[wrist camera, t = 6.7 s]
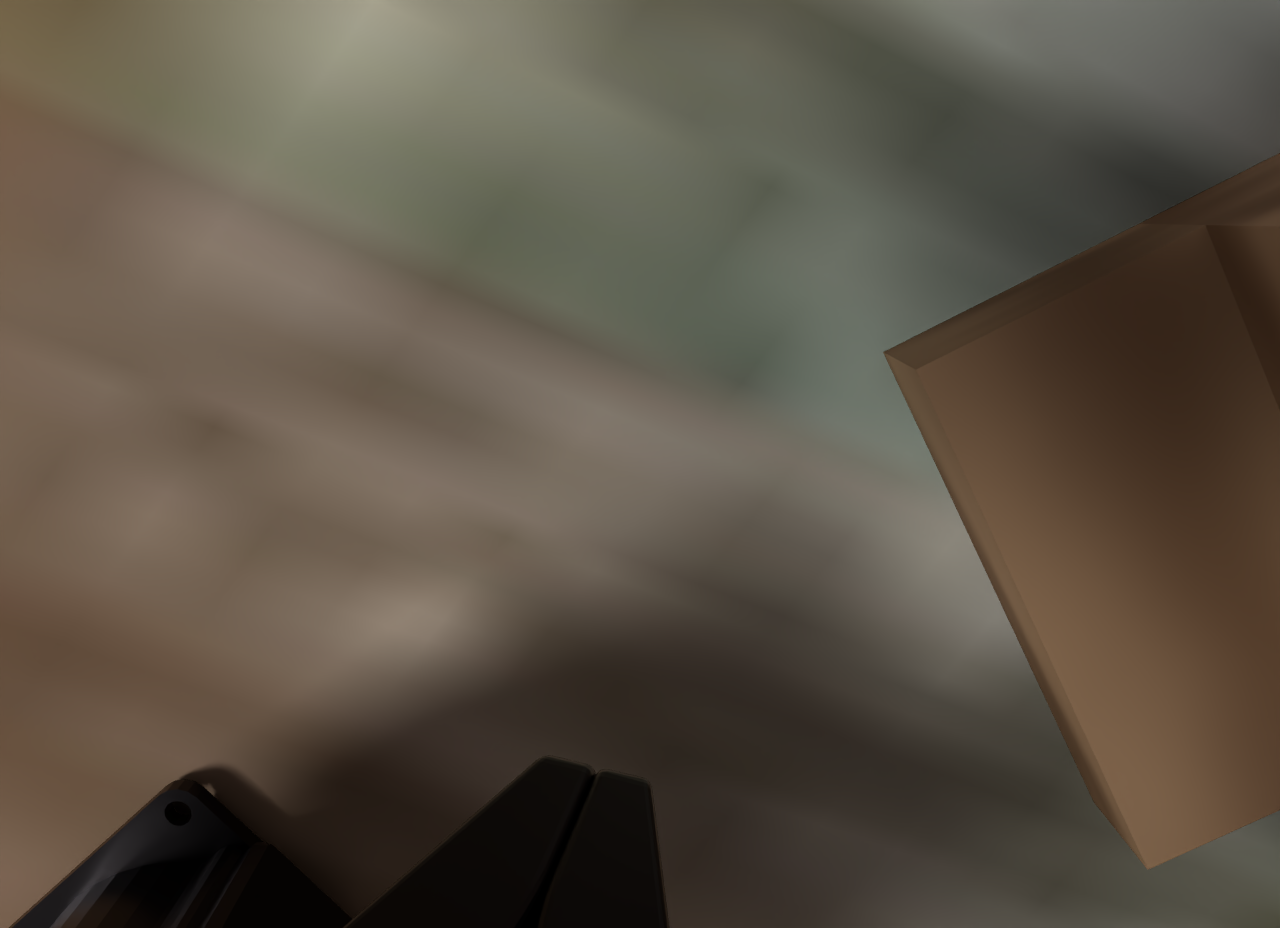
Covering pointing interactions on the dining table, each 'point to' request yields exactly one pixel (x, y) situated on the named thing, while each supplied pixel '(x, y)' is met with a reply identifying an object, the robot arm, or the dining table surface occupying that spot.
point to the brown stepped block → (1134, 501)
